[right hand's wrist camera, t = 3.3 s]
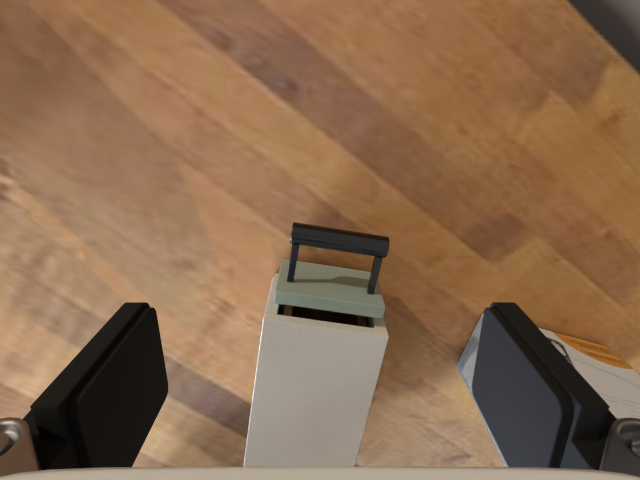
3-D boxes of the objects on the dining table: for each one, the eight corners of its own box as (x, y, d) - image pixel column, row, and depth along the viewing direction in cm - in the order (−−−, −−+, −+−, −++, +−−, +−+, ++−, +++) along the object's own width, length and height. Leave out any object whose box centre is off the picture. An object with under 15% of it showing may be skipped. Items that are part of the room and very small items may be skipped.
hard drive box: (609, 343, 44) (821, 528, 26) (575, 397, 47) (745, 600, 28) (480, 309, 43) (605, 480, 24) (452, 366, 45) (546, 560, 27)
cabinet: (274, 272, 41) (263, 318, 33) (375, 287, 42) (389, 336, 34) (256, 401, 47) (242, 468, 39) (345, 413, 48) (350, 481, 40)
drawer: (289, 206, 38) (283, 230, 31) (387, 221, 38) (401, 248, 32) (263, 384, 45) (254, 433, 39) (346, 394, 46) (350, 444, 39)
